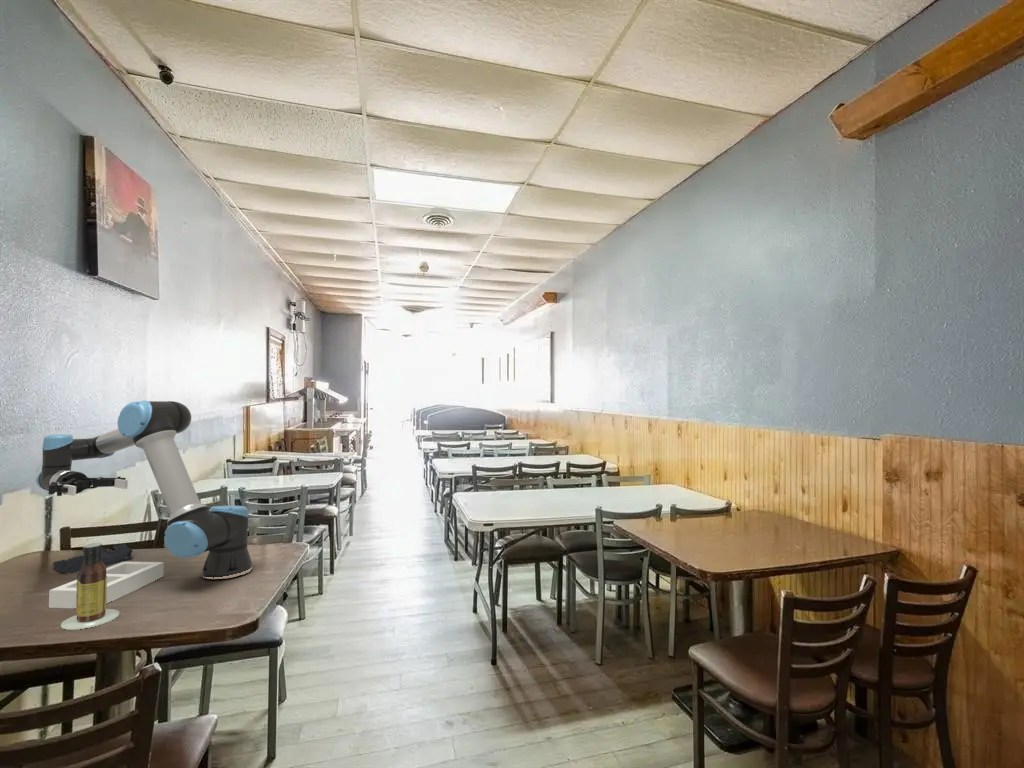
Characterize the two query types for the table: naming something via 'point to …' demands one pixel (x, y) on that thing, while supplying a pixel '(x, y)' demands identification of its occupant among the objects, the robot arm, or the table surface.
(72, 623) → the coaster
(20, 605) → the table surface
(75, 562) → the dark slate chunk
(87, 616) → the sauce bottle
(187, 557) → the robot arm
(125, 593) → the condiment caddy
